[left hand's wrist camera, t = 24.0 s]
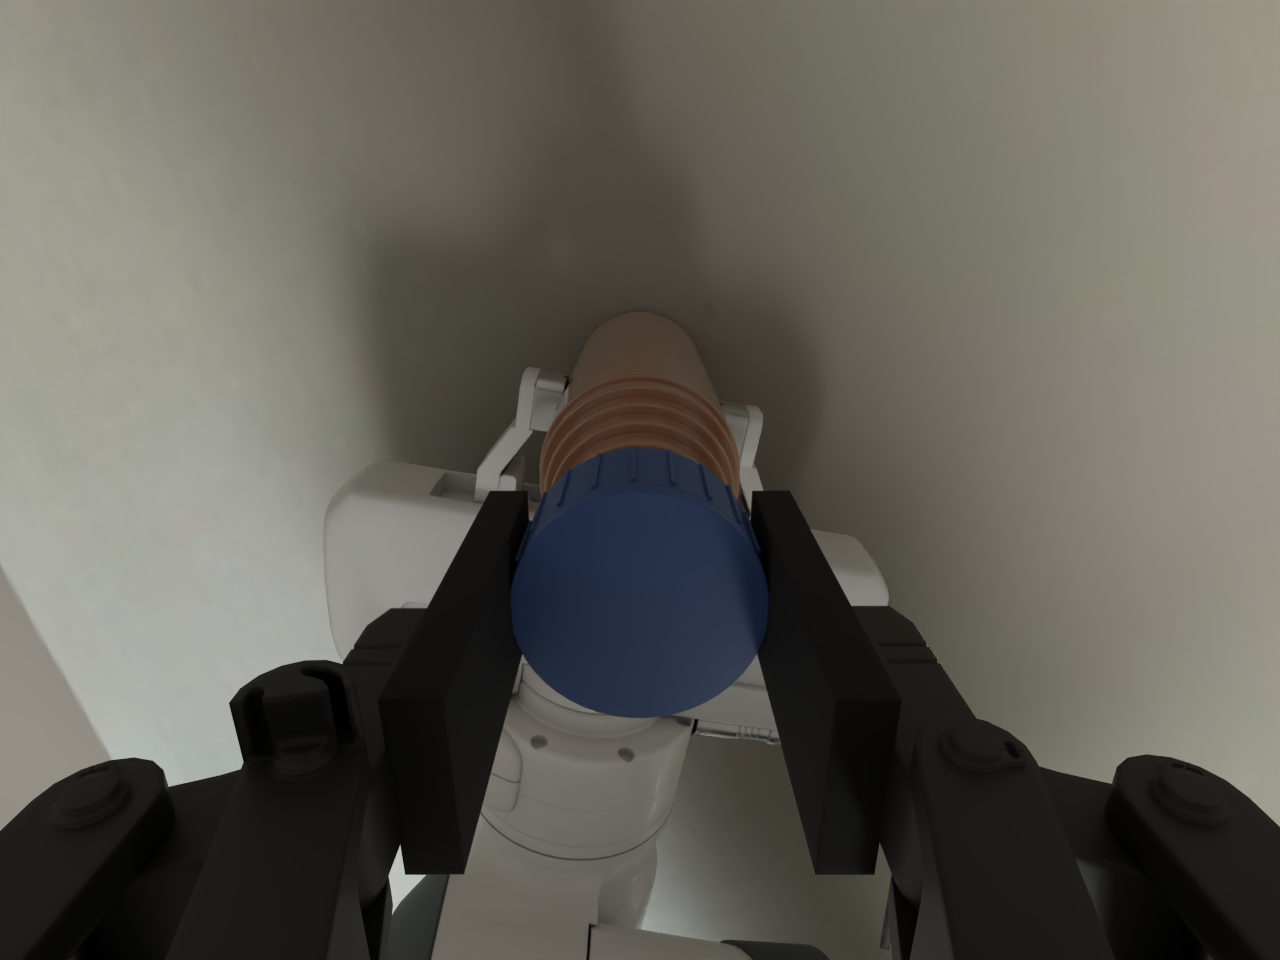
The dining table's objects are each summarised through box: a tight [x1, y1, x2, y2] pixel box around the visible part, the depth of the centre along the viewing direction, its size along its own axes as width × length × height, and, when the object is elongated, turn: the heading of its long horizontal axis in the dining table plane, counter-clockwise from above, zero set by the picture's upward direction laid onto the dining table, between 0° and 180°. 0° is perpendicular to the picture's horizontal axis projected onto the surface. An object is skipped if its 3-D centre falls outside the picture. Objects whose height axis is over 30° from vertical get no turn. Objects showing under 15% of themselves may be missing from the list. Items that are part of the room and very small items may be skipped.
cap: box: [510, 446, 769, 718], centre depth 14 cm, size 5×5×2 cm
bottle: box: [540, 311, 740, 499], centre depth 22 cm, size 5×5×19 cm
